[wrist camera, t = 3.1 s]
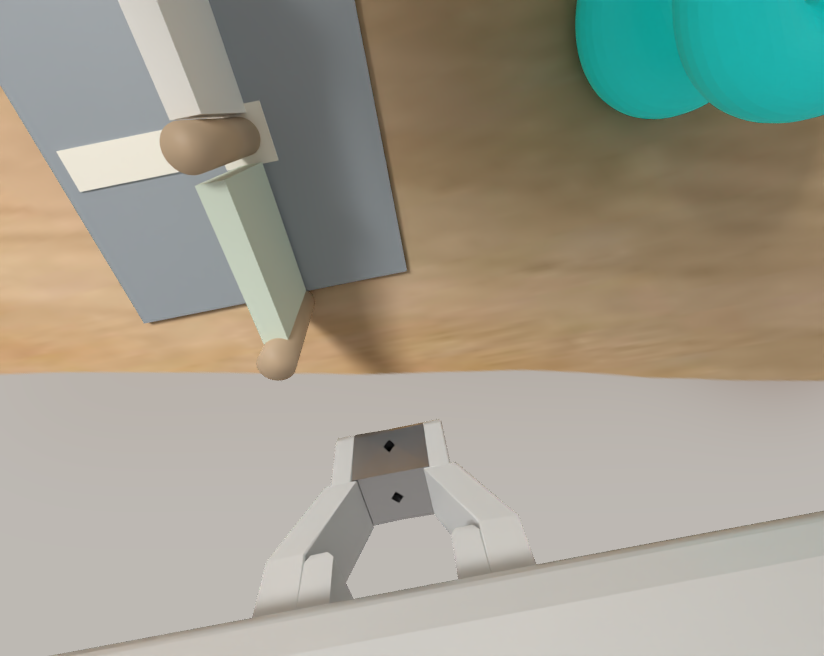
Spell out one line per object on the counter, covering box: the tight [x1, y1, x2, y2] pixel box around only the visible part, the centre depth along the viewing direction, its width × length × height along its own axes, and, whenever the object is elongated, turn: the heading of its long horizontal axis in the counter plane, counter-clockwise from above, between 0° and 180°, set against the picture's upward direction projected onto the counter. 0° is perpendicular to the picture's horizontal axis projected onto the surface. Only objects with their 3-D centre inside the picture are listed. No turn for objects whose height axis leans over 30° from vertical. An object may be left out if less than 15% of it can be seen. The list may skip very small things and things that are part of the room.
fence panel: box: [195, 162, 315, 380], centre depth 20 cm, size 9×2×7 cm, turn 10°
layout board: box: [0, 0, 407, 323], centre depth 20 cm, size 19×17×1 cm
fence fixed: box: [118, 0, 261, 175], centre depth 15 cm, size 11×2×7 cm, turn 10°
